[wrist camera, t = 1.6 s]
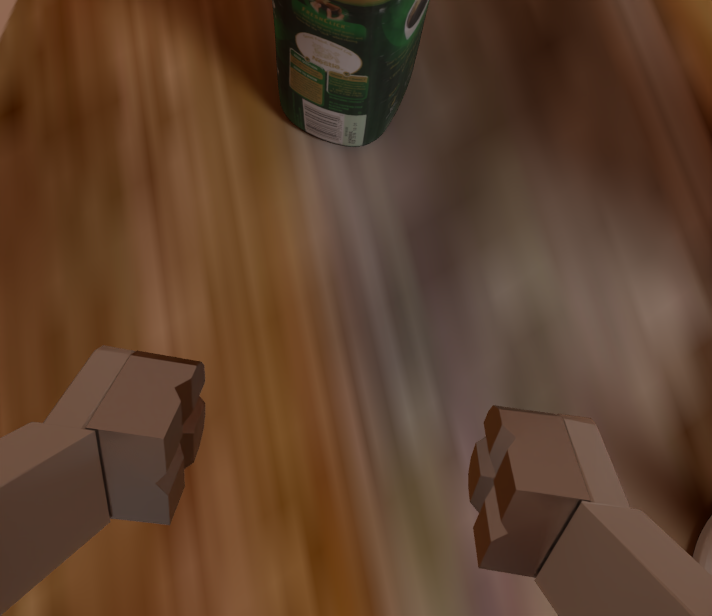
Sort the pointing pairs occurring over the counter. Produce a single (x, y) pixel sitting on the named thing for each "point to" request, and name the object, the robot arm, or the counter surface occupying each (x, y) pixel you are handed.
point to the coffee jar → (345, 64)
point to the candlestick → (705, 547)
